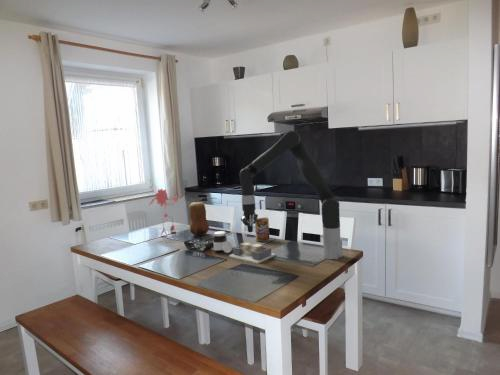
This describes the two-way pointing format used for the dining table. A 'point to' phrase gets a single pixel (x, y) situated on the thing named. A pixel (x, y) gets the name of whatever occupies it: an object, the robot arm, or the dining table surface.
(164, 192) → the red flower in vase
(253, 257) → the cradle
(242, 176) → the robot arm
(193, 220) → the butternut squash
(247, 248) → the slat
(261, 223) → the candy box
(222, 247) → the spread jar
